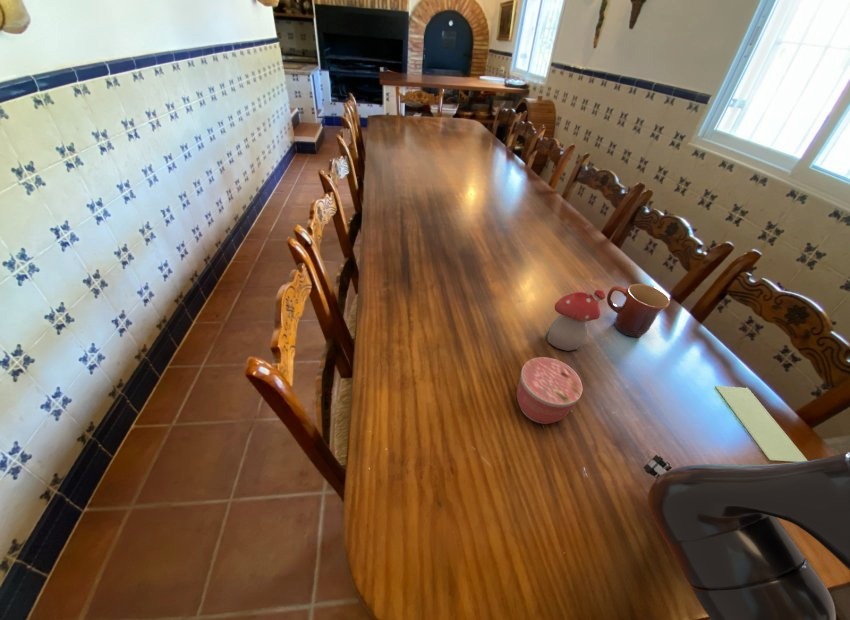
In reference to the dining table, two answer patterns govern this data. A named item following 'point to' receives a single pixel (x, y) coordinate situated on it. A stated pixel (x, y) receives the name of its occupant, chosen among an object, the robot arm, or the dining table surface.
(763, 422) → the edge strip
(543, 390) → the container
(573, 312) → the decorative ornament
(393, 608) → the dining table surface
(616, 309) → the mug
